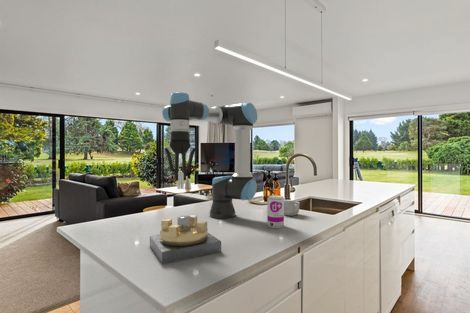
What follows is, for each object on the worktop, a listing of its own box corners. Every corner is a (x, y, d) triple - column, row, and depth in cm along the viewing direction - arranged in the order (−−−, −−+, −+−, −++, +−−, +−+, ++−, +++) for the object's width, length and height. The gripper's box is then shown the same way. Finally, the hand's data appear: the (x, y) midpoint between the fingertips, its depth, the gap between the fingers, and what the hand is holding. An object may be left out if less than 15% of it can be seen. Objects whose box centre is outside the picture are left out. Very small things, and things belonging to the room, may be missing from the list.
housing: (149, 245, 108) (149, 235, 108) (201, 237, 118) (201, 227, 118) (161, 263, 90) (161, 251, 90) (221, 251, 101) (221, 240, 101)
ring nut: (155, 235, 108) (155, 215, 108) (197, 228, 116) (197, 210, 116) (167, 249, 92) (166, 225, 92) (215, 240, 101) (215, 219, 101)
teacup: (279, 213, 165) (279, 200, 165) (296, 212, 166) (296, 199, 165) (285, 218, 151) (285, 204, 151) (304, 218, 152) (304, 203, 152)
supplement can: (283, 228, 131) (283, 198, 130) (266, 228, 132) (266, 197, 132) (284, 224, 138) (284, 195, 138) (268, 223, 140) (267, 194, 140)
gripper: (163, 130, 105) (164, 190, 105) (198, 130, 109) (198, 188, 110) (161, 131, 112) (162, 188, 112) (194, 132, 116) (194, 186, 117)
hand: (180, 188), depth 111 cm, fingers closed
